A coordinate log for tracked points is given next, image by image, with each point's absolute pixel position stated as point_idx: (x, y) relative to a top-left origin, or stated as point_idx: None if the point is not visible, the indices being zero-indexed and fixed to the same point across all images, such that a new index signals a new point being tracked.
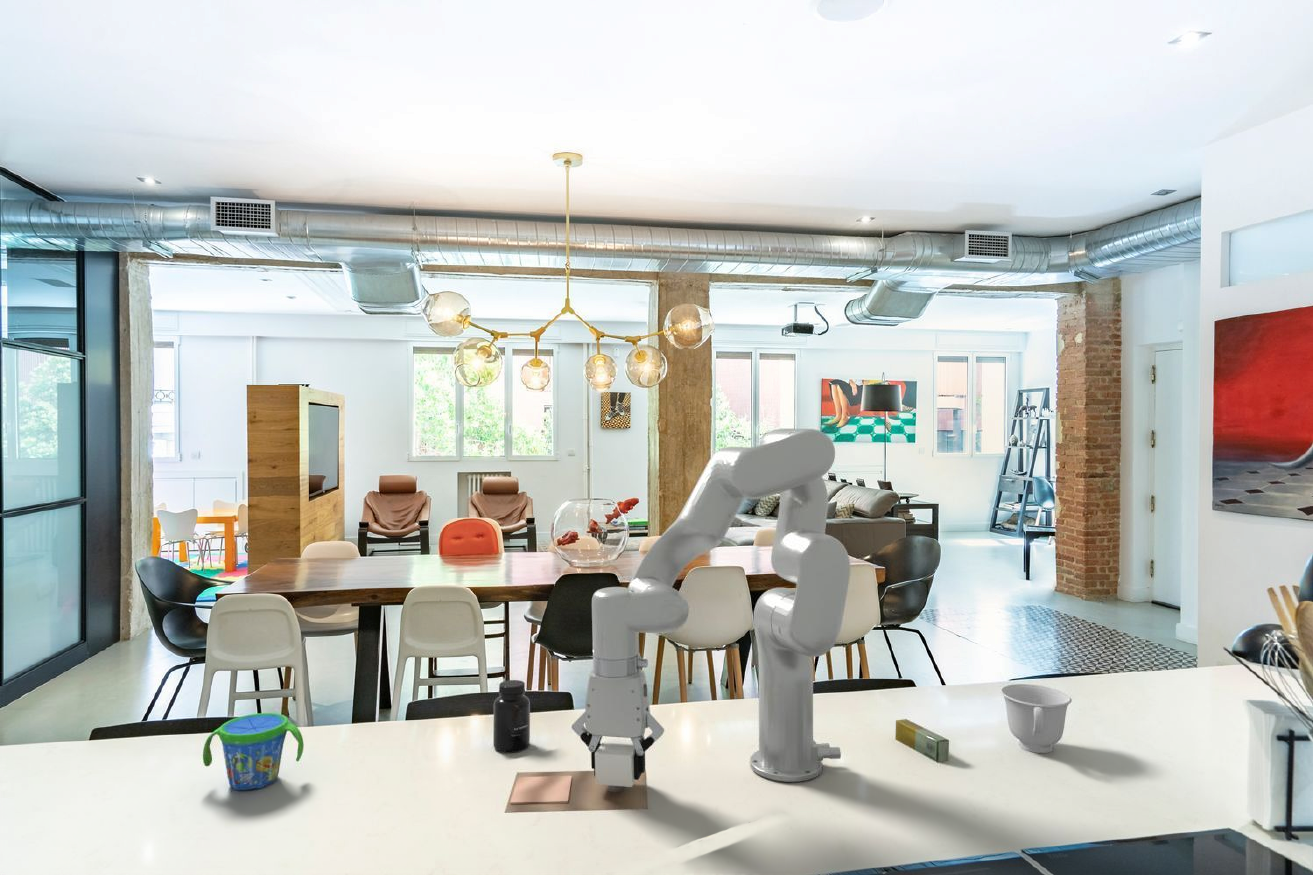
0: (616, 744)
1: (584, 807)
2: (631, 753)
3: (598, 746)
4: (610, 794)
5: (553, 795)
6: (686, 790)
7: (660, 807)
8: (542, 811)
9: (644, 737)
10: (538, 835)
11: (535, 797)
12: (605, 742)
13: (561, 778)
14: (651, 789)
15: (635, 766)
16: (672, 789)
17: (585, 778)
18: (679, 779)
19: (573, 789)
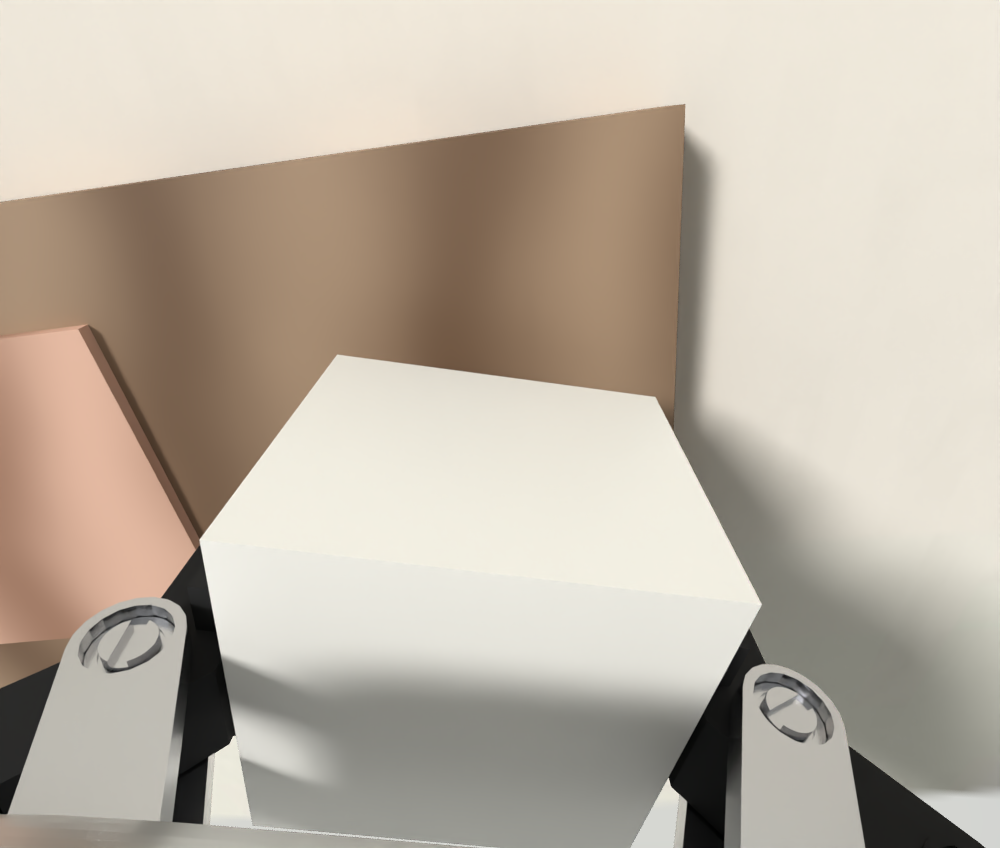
0: (428, 688)
1: None
2: (627, 831)
3: (222, 729)
4: None
5: (124, 582)
6: (942, 304)
7: (726, 510)
8: None
9: (859, 822)
10: None
11: (39, 602)
12: (261, 646)
13: (28, 375)
14: (695, 307)
15: None
16: (845, 296)
17: (200, 330)
18: (953, 108)
19: (195, 485)
